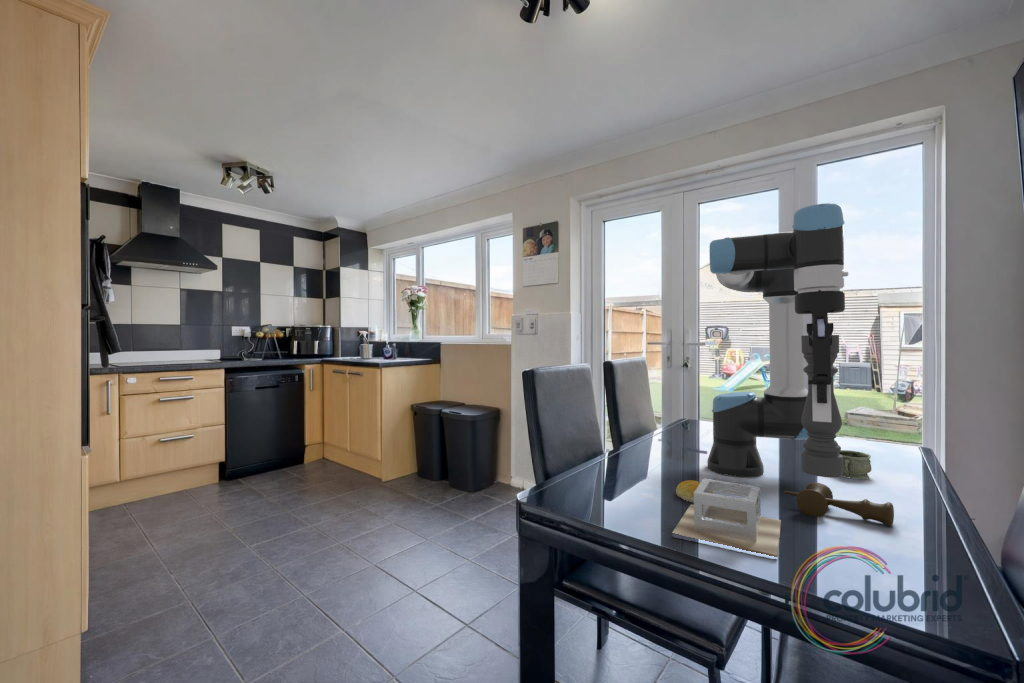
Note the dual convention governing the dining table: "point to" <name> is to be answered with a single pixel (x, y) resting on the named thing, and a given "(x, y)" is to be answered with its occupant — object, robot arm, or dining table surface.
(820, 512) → the kendama
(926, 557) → the dining table surface
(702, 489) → the grey cinder block
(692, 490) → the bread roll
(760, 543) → the stand base
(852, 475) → the vessel
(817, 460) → the candle holder
